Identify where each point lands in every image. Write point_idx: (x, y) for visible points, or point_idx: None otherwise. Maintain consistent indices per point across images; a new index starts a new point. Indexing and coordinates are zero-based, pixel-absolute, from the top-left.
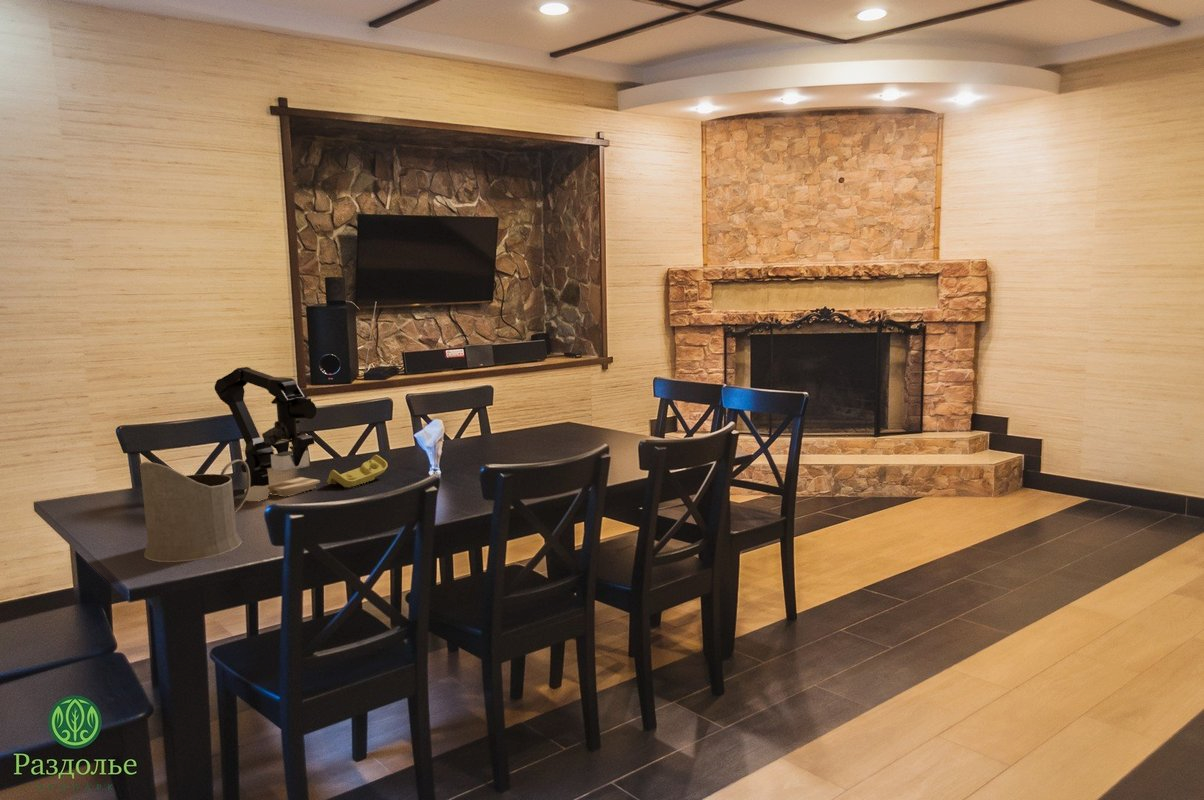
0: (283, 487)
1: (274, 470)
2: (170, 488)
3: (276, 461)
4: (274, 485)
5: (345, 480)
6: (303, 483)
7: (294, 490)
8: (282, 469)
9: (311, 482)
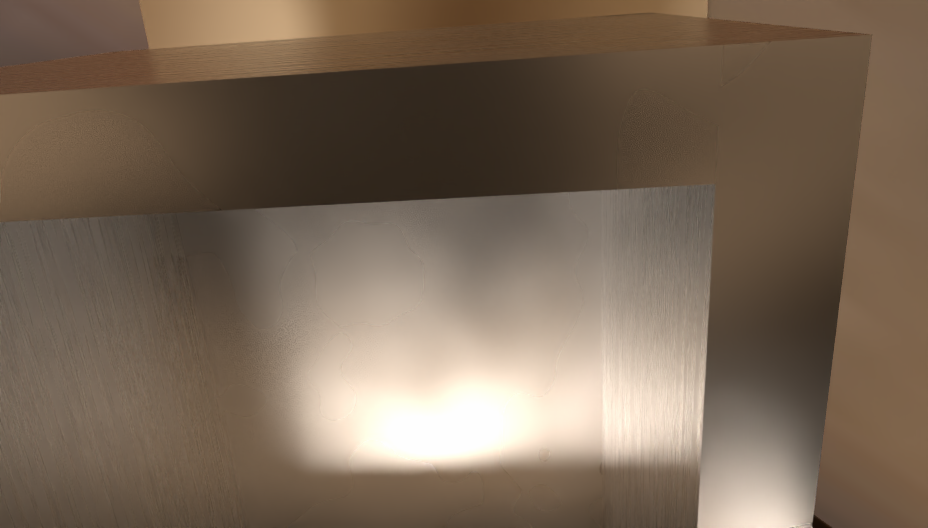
0: (271, 10)
1: (526, 22)
2: None
3: (337, 52)
4: (562, 15)
5: None
6: None
7: None
8: (126, 53)
9: None
